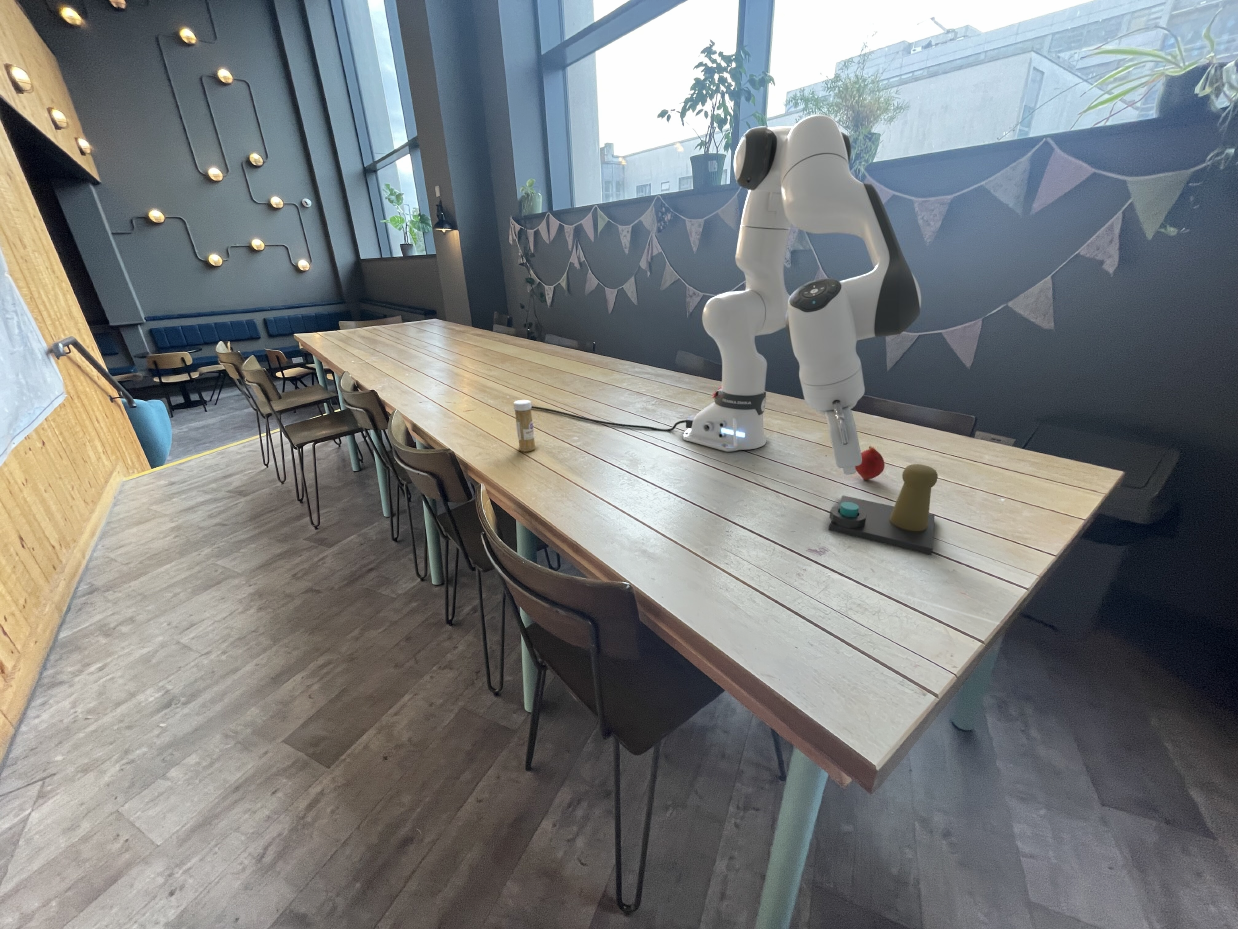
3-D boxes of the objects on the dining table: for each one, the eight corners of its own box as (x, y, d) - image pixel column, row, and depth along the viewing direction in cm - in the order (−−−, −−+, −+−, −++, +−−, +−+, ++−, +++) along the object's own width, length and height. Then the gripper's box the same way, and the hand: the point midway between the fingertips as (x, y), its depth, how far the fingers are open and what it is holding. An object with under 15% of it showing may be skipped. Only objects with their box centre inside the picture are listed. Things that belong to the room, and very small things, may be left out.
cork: (933, 532, 82) (949, 475, 78) (895, 529, 83) (909, 473, 79) (920, 515, 87) (934, 461, 83) (884, 512, 89) (897, 459, 84)
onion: (878, 475, 106) (885, 442, 103) (882, 486, 102) (890, 452, 98) (850, 472, 108) (856, 440, 105) (853, 483, 103) (859, 449, 100)
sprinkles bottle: (533, 452, 126) (528, 403, 121) (517, 452, 126) (511, 404, 121) (537, 445, 130) (532, 398, 125) (521, 446, 131) (515, 399, 125)
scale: (825, 529, 86) (828, 515, 85) (838, 500, 96) (841, 487, 95) (930, 555, 78) (935, 540, 77) (932, 521, 88) (936, 507, 87)
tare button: (837, 515, 86) (839, 507, 85) (840, 508, 88) (842, 500, 87) (855, 519, 84) (857, 511, 84) (858, 512, 87) (860, 504, 86)
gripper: (866, 417, 65) (877, 490, 72) (845, 353, 80) (856, 419, 87) (817, 426, 67) (833, 497, 74) (806, 363, 83) (820, 426, 90)
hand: (845, 454), depth 81 cm, fingers open, 8 cm apart
